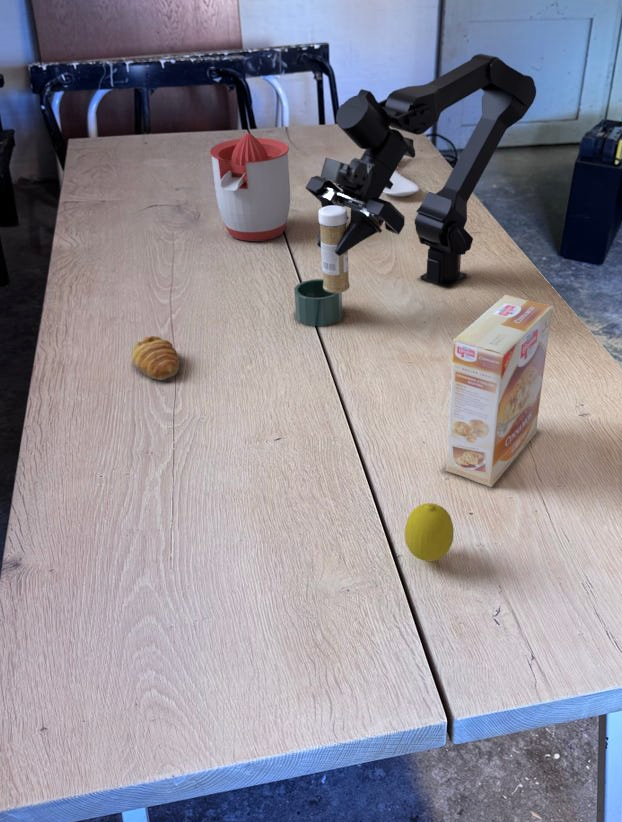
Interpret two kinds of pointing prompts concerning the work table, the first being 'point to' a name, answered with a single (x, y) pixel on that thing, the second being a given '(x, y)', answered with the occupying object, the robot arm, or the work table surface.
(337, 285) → the sprinkles bottle
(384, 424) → the work table surface
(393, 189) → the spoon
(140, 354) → the pastry
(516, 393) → the coffeecake box
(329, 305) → the cup
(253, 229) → the citrus juicer
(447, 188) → the robot arm
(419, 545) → the lemon
